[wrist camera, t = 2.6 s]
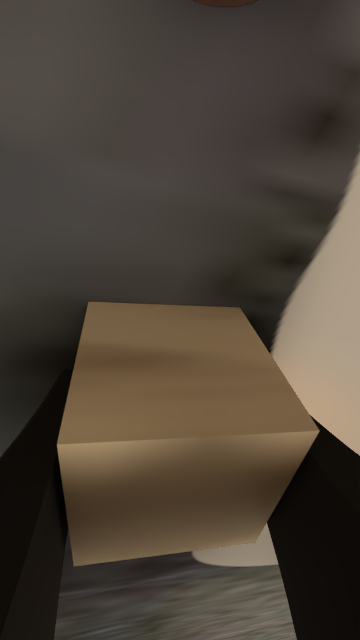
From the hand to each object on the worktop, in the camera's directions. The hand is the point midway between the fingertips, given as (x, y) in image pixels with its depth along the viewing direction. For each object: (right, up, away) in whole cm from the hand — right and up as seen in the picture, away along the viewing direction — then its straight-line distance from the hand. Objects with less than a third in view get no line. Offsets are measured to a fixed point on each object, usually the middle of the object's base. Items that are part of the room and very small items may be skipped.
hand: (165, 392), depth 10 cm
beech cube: (0, +1, +1) cm, 1 cm away
